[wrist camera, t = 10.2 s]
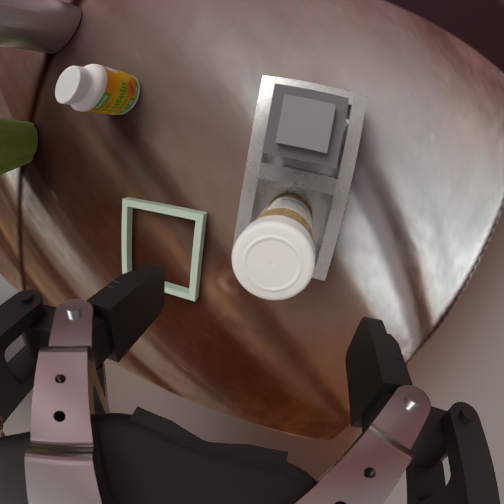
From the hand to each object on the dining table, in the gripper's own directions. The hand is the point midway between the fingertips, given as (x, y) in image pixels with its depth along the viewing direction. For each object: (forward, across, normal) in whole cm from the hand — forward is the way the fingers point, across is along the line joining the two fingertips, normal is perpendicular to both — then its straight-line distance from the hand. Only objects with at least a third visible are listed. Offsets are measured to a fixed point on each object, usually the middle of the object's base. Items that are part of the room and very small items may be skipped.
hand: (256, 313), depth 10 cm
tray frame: (+18, +14, +7) cm, 24 cm away
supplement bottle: (+19, +22, -11) cm, 31 cm away
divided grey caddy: (+18, 0, -4) cm, 19 cm away
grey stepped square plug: (+18, 0, -8) cm, 20 cm away
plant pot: (+19, +44, -5) cm, 48 cm away
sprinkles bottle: (+18, 0, 0) cm, 18 cm away
